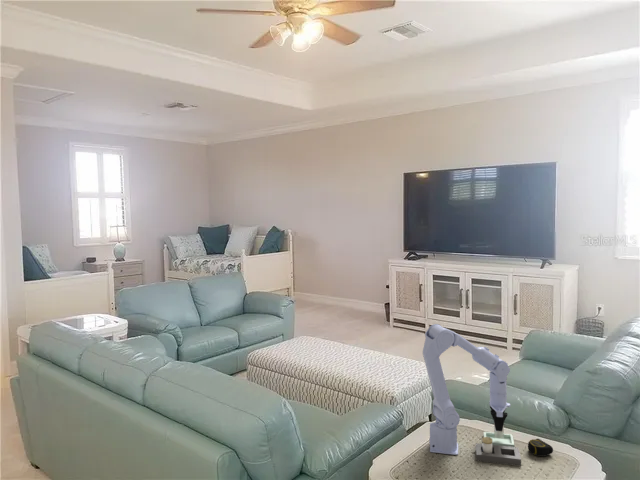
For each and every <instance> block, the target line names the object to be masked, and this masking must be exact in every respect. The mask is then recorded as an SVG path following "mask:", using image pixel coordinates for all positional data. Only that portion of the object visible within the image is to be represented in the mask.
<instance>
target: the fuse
mask: <svg viewBox="0 0 640 480" xmlns="http://www.w3.org/2000/svg"><path fill="white" fill-rule="evenodd" d="M481 441H482V443H481V444H482V448H483V452H482V453H491V454H492V439H491V438H489V437H484V436H483V437H482V438H481Z"/></svg>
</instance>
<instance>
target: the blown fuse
mask: <svg viewBox="0 0 640 480" xmlns="http://www.w3.org/2000/svg"><path fill="white" fill-rule="evenodd" d="M493 425H494V426H493V430H494V431H493V433H494V436H495V437H496V438H499V439H502V438H504V434H505V431H504V427H505V426H504V425H505V424H504V425H503V430H502V431H496V429H495V424H494V423H493Z"/></svg>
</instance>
